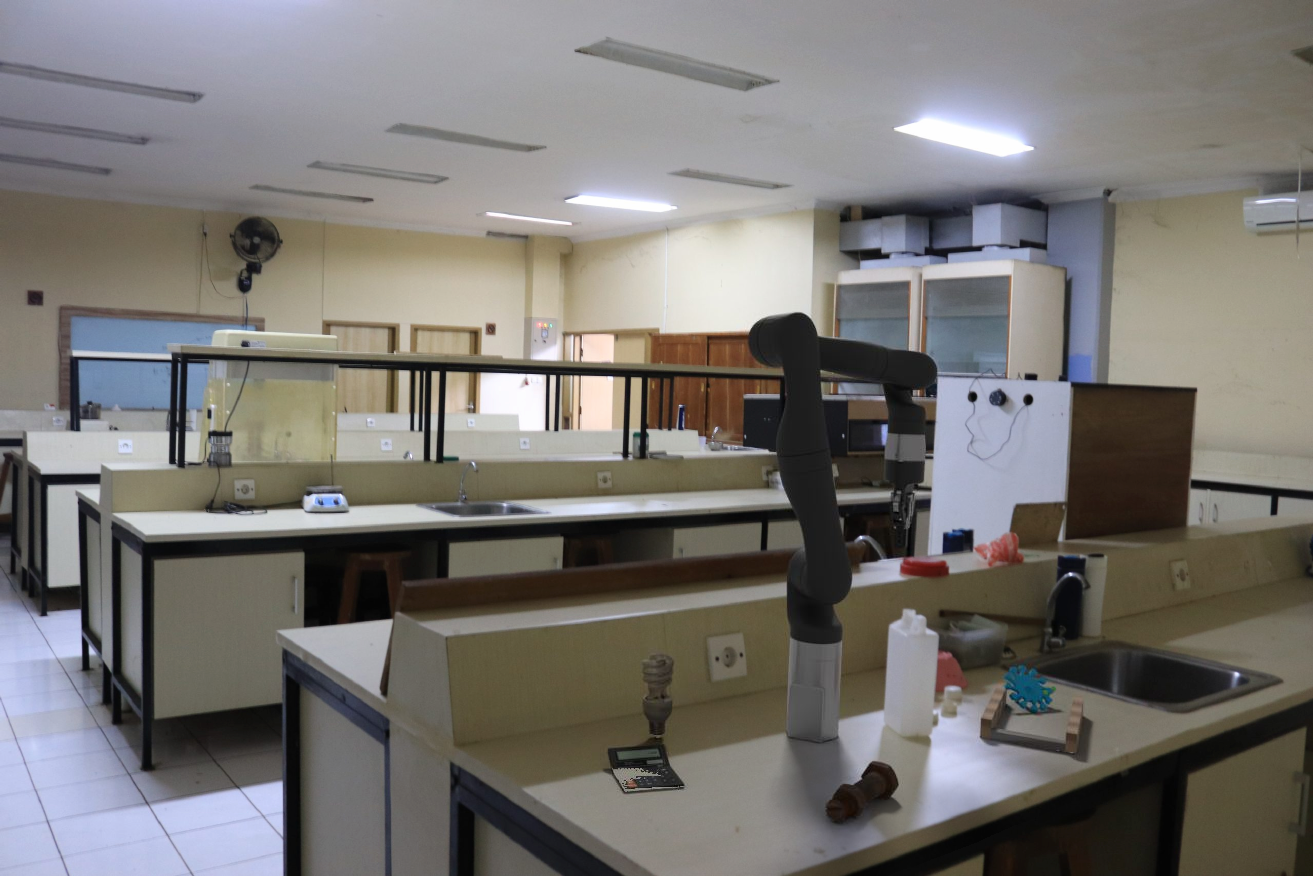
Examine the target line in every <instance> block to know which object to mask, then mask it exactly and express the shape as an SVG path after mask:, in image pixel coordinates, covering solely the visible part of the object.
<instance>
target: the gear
mask: <svg viewBox="0 0 1313 876" xmlns="http://www.w3.org/2000/svg"><path fill="white" fill-rule="evenodd" d="M1026 671H1027V666H1025V665H1022V664H1020V665H1019V666H1018V667H1016V666H1011V667H1010V668H1009V672H1006V674H1005V675H1004V676H1003V678H1004V680H1006V681H1005V683H1004V685H1003V686H1004V687H1005V689H1006V690H1007V691H1010V690H1011V693H1010V694H1009V698H1010V700H1011V701H1014V702H1015V703H1018V707H1020V708H1021V709H1022V710H1024V709H1026V707H1027V705H1028V703H1030V704H1031V706H1030V707H1029V711H1030V712H1032V713H1037V712H1038V711H1039V710H1040V711H1042V712H1043V711H1046V710H1047V709H1048V705H1050V704H1051V703H1052V702H1053V698H1052V697H1050V695H1053V694H1054V693H1055V692H1056V691H1057V687H1056V686H1054V685H1052V686H1051V687H1050V686H1049V687H1048V686H1047V687H1046V686H1043V685H1045V684H1047V682H1048V681H1047V679H1046V678H1045V677H1044V676H1042V677H1041V676H1040V677H1039V678H1034V677H1035V676H1036V675H1038V672H1037V670H1036V669H1034V668H1031V669H1030V670H1029V673H1028V674H1025V672H1026ZM1017 672H1019V674H1018V673H1017ZM1012 691H1013V692H1012ZM1037 703H1038V704H1039V706H1038V705H1037Z"/></svg>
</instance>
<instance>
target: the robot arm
mask: <svg viewBox="0 0 1313 876" xmlns="http://www.w3.org/2000/svg"><path fill="white" fill-rule="evenodd" d="M747 345H748V349H749V352H750V354H751V356H752V358H754V360H755V361H756V362H758V363H759V364H761V365H763V366H764V367H768V368H775V369H776V368H777V369H779V368H781V369H782V371H783V372H782V373H783V377H784V384H785V404H784V409H783V413H782V416H781V420H780V422H779V426H778V430H777V435H776V438H775V440H776V441H775V451H776V457H777V465H778V466H777V467H778V471H779V476H780V481H781V485H782V487H783V490H784V493H785V495H786V497H787V499H788V502H789V503H790V506H791V508H792V510H793V512H794V514H795V516H796V519H797V521H798V523H799V526H800V529H801V532H802V533H801V534H802V538H803V545H804V546H803V547H802V548H800V549H797V551H796V552H794V554H793V556H792V557H791V559H790V561H789V564H788V568H787V573H786V616H787V617H786V618H787V620H788V624H789V631H790V632H789V634H790V635H789V652H788V653H789V655H788V656H789V657H788V658H789V659H788V674H787V675H788V676H787V679H788V680H787V697H786V699H787V702H786V703H787V704H786V725H785V728H786V729H785V730H786V732H787V737H789V738H795V739H799V740H805V741H810V742H816V743H820V744H821V743H823V742H825V741H831V740H834V739H836V738H837V737H838V736H839V721H840V699H841V697H840V696H841V695H840V694H841V672H842V654H843V653H842V651H843V650H842V649H843V647H842V646H843V624H842V622H841V621H840V620H839V618H838V615H837V614H836V611H835V608H834V605H838V604H840V603H841V602H843V600H845V599H846V597H847V596H848V595H849V593H850V592H851V587H852V583H853V571H852V570H853V569H852V565H851V560H850V555H849V553H848V550H847V549H848V548H847V545H846V540H845V537H844V534H843V533H844V532H843V530H842V524H841V519H840V512H839V505H838V499H837V492H836V487H835V486H836V485H835V480H834V479H835V478H834V472H833V471H834V470H833V463H832V462H833V461H832V457H831V448H830V442H829V437H828V432H827V424H826V418H825V417H826V416H825V409H824V401H823V392H822V378H821V376H822V375H821V374H822V372H826V373H827V372H828V373H832V374H836V375H840V376H844V377H848V378H853V379H858V380H862V381H865V382H870V383H875V384H876V383H878V384H879V383H881V386H882V390H883V395H884V400H885V403H886V405H885V406H886V409H887V431H886V433H887V434H886V440H885V447H884V463H883V464H884V467H883V480H884V481H885V482H887V483H891V484H893V485H894V486H893V491H891V492H890V500H889V502H888V507H889V508H888V509H889V515H890V523H891V526H893V528H894V539H893V540H894V541H893V547H894V548H896V549H906V548H907V547H908V539H909V538H908V535H909V529H910V527H911V526H910V525H912V522H913V515H914V510H915V506H916V502H917V499H916V492H914V485H920V484H923V483H924V481H925V471H926V470H925V469H926V450H927V445H926V435H925V434H926V423H927V420H926V419H927V411H926V408H925V406H924V405H922V404H920V403H917V402H915V401H914V400H913V397H912V393H911V391H924V390H926V389H928V388H930V387H931V386H932V385H933V384H934V383H935V382H936V380H937V378H938V366H937V364H936V362H935V360H934V359H933V358H932V356H930V355H928V354H927V353H924V352H921V351H920V352H919V351H915V350H908V349H900V348H891V347H888V346H884V345H881V344H877V343H873V342H869V341H865V340H863V339H862V340H861V339H854V338H847V337H846V338H845V337H835V336H825V335H824V336H823V335H819V334H818V331H817V328H816V325H815V323H814V321H813V319H812V318H811V317H809V315H807V314H806V313H804V312H801V311H792V312H790V311H789V312H784V313H783V312H782V313H778V314H777V313H776V314H772V315H768V316H765V317H762V318H760V319H758V320H757V321H756V322H754V324H753V325H752V326H751V328H750V329H749V333H748V337H747ZM821 371H822V372H821Z"/></svg>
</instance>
